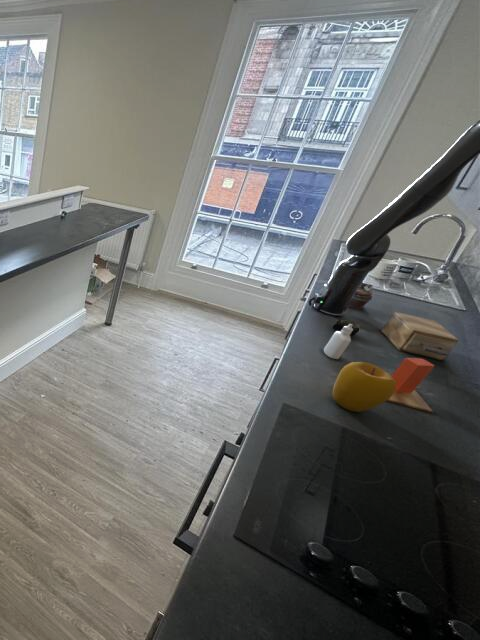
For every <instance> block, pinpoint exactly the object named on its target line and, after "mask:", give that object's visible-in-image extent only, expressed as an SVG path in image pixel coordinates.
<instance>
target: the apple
mask: <svg viewBox="0 0 480 640" xmlns="http://www.w3.org/2000/svg"><path fill="white" fill-rule="evenodd" d="M391 376H392V375H390V373H388V372H387V371H386V370H384V369H382V368H380V367H379V366H376V365H373V364H372V363H369V362H366V361H365V362H364V361H352V362H350V363H348V364H346V365H344V366H343V368H341V369H340V371H339V373H338V375H337V377H336V380H335V382H334V385H333V389H332V398H333V401H334V402H335V403H337V405H338V406H340V407H342V408H343V409H344V410H347V411H350V412H357V413H362V412H365V411H370V410H371V409H373V408H375V407H378V406H380V405H381V404H384V403H385V402H387V400H388V399H389V398H390V397H391V396H392V395H393V393H394V391H395V388H396V381H395V380H394V379H393V378H392V377H391Z"/></svg>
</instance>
